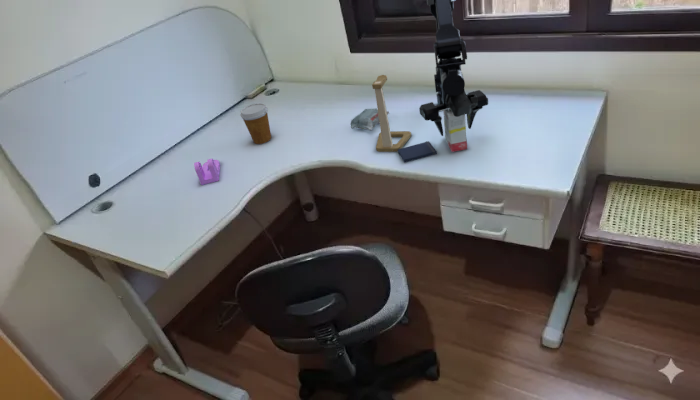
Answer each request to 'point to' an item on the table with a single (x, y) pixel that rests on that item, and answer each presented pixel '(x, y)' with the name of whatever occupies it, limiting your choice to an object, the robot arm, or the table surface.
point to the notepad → (417, 151)
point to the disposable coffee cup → (257, 122)
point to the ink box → (455, 131)
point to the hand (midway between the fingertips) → (455, 131)
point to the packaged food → (366, 119)
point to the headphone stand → (386, 122)
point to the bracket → (205, 174)
